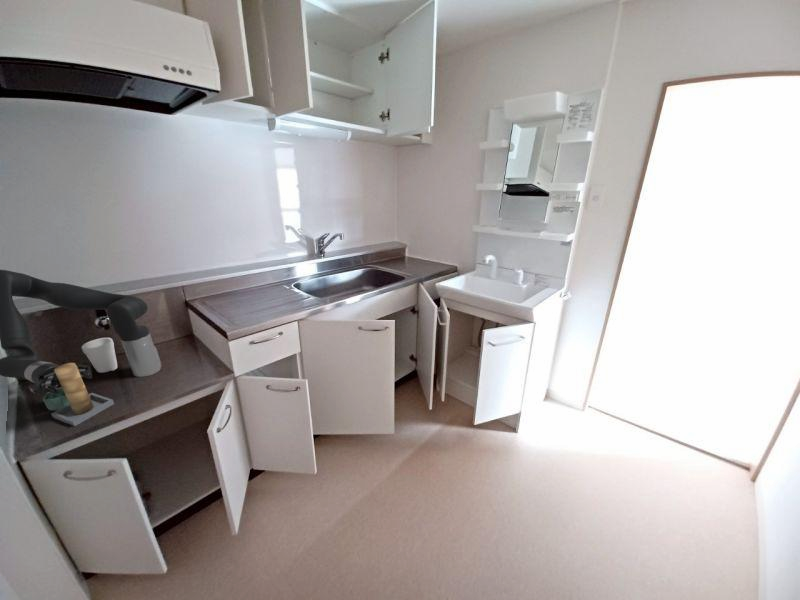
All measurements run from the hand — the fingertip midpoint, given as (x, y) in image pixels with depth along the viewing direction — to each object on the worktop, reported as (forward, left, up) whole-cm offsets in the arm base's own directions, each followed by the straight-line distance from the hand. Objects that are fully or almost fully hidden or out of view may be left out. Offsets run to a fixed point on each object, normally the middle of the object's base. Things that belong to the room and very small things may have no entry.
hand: (75, 383), depth 104 cm
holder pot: (-6, -13, -13) cm, 19 cm away
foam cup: (-28, -14, -13) cm, 34 cm away
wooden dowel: (-1, -2, -12) cm, 12 cm away
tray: (-1, -2, -13) cm, 13 cm away
